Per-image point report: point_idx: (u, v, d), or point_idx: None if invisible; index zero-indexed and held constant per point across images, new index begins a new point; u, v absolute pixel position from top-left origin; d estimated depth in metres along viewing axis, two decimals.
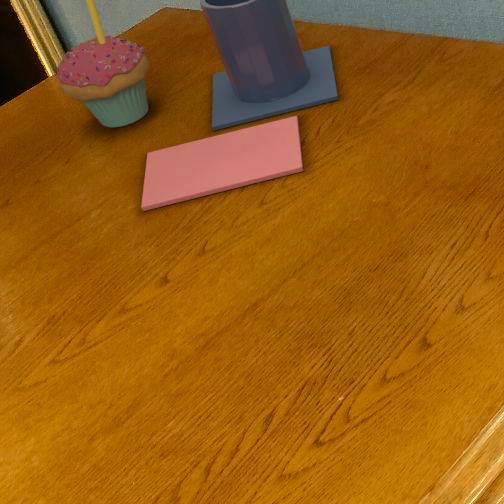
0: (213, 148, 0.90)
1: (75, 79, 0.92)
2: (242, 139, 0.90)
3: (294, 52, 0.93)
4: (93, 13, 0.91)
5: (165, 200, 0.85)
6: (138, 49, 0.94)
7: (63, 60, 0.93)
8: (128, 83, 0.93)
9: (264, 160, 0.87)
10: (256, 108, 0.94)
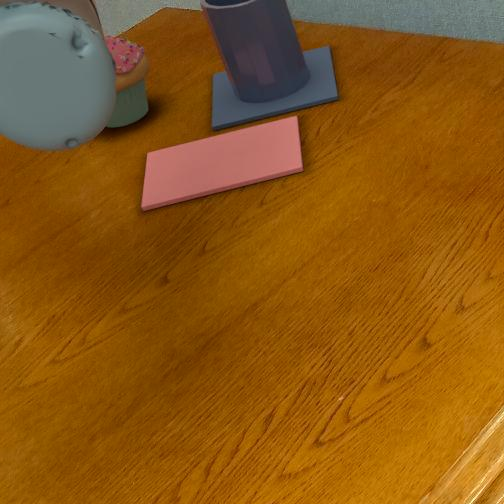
0: (213, 148, 0.90)
1: None
2: (242, 139, 0.90)
3: (294, 52, 0.93)
4: None
5: (165, 200, 0.85)
6: (138, 49, 0.94)
7: None
8: (128, 83, 0.93)
9: (264, 160, 0.87)
10: (256, 108, 0.94)
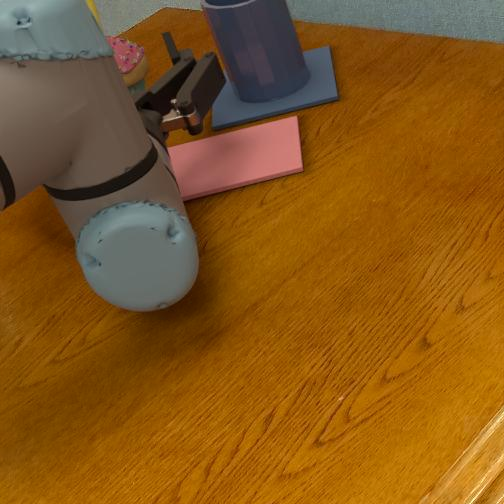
0: (213, 148, 0.90)
1: None
2: (242, 139, 0.90)
3: (294, 52, 0.93)
4: (93, 13, 0.91)
5: None
6: (138, 49, 0.94)
7: None
8: (128, 83, 0.93)
9: (264, 160, 0.87)
10: (256, 108, 0.94)
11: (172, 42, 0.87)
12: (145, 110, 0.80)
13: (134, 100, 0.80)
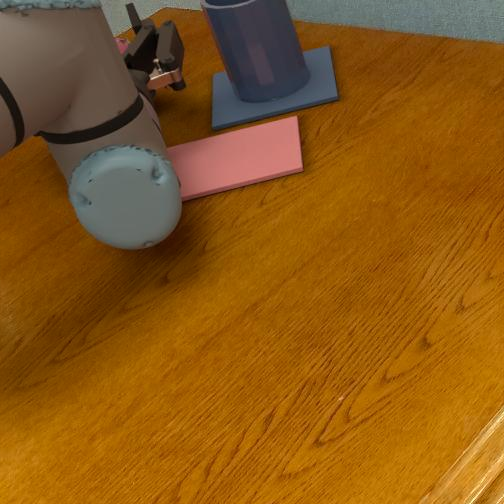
0: (213, 148, 0.90)
1: None
2: (242, 139, 0.90)
3: (294, 52, 0.93)
4: None
5: None
6: None
7: None
8: None
9: (264, 160, 0.87)
10: (256, 108, 0.94)
11: (134, 12, 0.94)
12: (133, 70, 0.85)
13: None
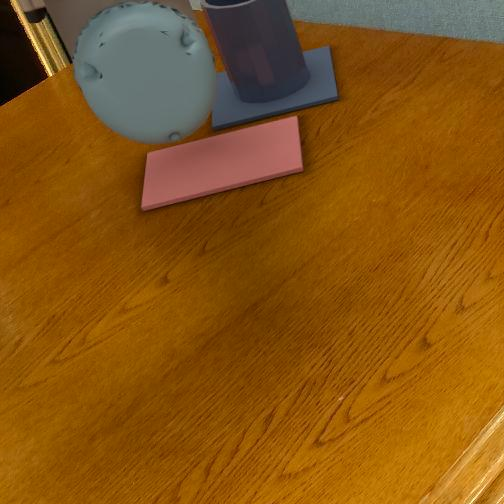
0: (213, 148, 0.90)
1: None
2: (242, 139, 0.90)
3: (294, 52, 0.93)
4: None
5: (165, 200, 0.85)
6: None
7: None
8: None
9: (264, 160, 0.87)
10: (256, 108, 0.94)
11: None
12: None
13: None
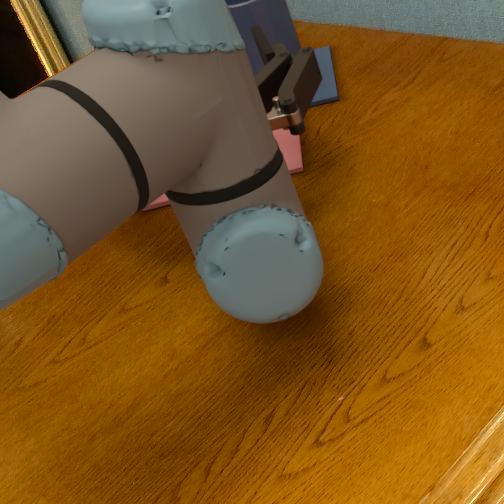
0: None
1: None
2: None
3: (294, 52, 0.93)
4: None
5: (165, 200, 0.85)
6: None
7: None
8: None
9: None
10: None
11: (264, 37, 0.83)
12: None
13: None
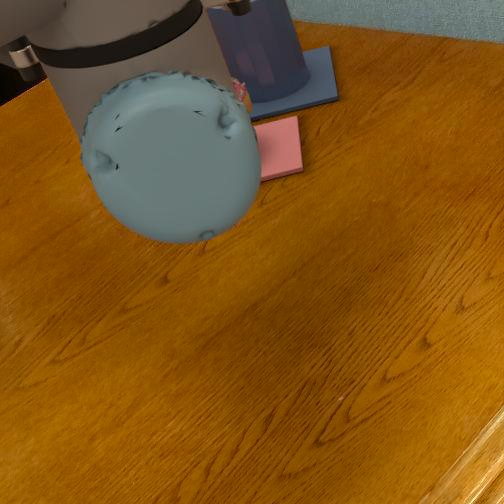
0: None
1: None
2: None
3: (294, 52, 0.93)
4: None
5: None
6: (241, 86, 0.84)
7: None
8: None
9: (264, 160, 0.87)
10: (256, 108, 0.94)
11: None
12: None
13: None
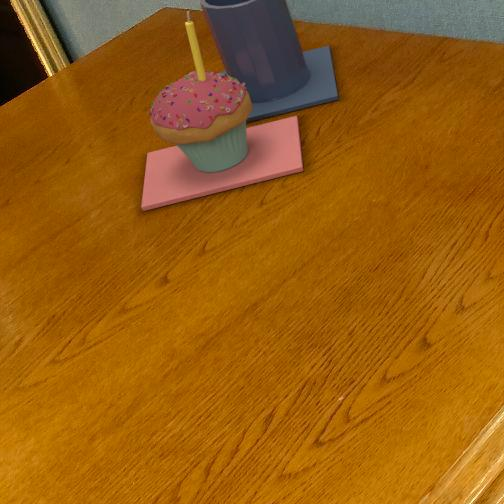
0: None
1: (173, 121, 0.82)
2: None
3: (294, 52, 0.93)
4: (194, 47, 0.81)
5: (165, 200, 0.85)
6: (241, 86, 0.84)
7: (159, 99, 0.83)
8: (231, 125, 0.83)
9: (264, 160, 0.87)
10: (256, 108, 0.94)
11: None
12: None
13: None
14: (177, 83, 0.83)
